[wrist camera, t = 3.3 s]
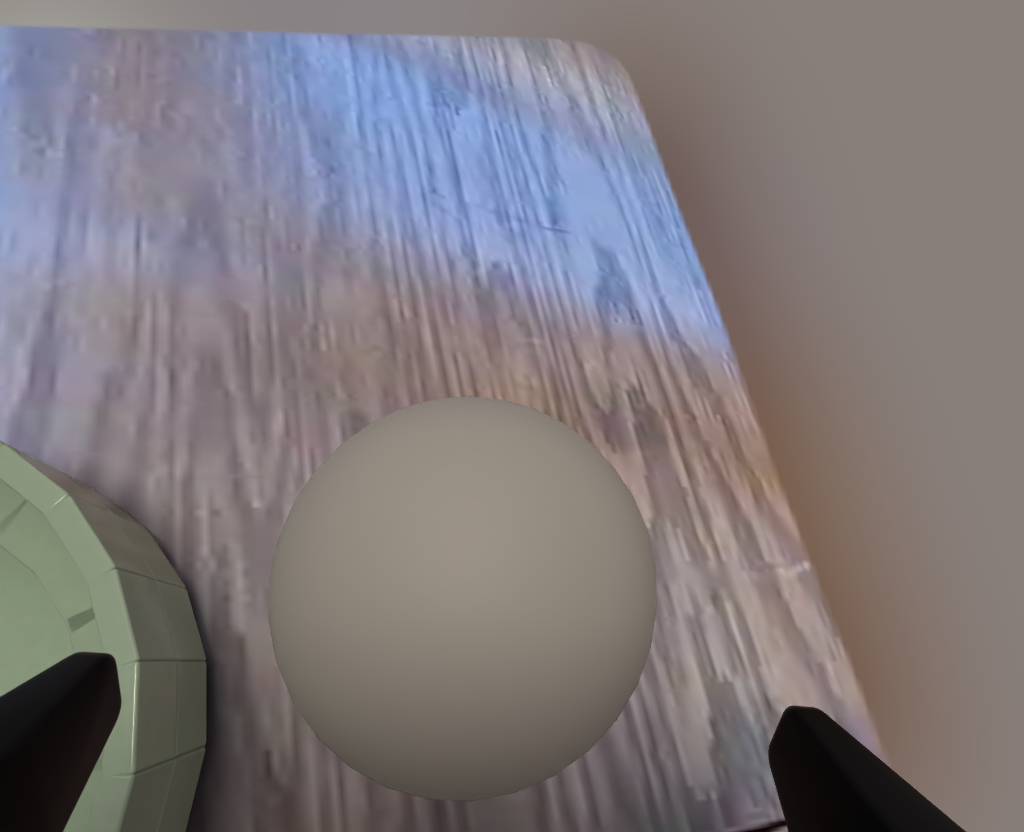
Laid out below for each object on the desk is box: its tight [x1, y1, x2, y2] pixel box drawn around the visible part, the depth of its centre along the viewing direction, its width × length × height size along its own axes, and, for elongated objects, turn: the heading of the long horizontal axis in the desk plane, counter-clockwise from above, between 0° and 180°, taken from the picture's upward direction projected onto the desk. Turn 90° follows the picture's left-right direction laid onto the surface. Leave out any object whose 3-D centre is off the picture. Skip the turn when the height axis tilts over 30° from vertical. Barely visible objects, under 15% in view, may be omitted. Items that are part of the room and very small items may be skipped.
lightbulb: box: [269, 396, 657, 801], centre depth 12 cm, size 6×6×11 cm
